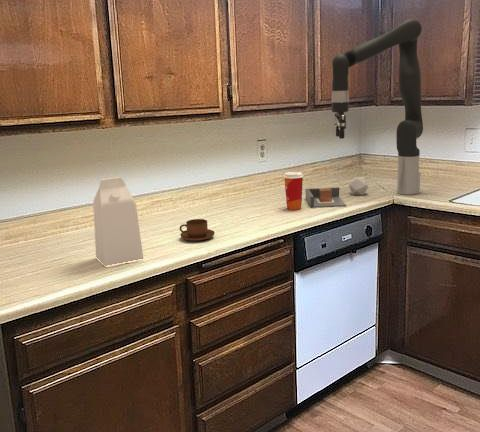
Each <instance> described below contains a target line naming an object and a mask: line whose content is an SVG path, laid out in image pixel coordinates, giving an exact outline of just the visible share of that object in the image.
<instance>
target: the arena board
mask: <svg viewBox="0 0 480 432" xmlns="http://www.w3.org/2000/svg"><path fill="white" fill-rule="evenodd" d="M319 188H320V187H317V188H314V187H313V188H305V190H304V191H305V201H306V202H307V204H308V206H309V208H313V209H316V208H317V207H318V208H336V207H337V208H338V207H341V206H342V207H347V203H346V202H344V201H343V199H342V198H341V197H340V187H329V188H330V189H331V190H332V202H320V201H319ZM342 207H341V208H342Z"/></svg>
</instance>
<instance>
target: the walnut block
mask: <svg viewBox="0 0 480 432" xmlns="http://www.w3.org/2000/svg"><path fill="white" fill-rule="evenodd" d="M318 188H319V201H320V202H332V190H331V189H330V188H331V187H318Z"/></svg>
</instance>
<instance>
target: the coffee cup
mask: <svg viewBox="0 0 480 432" xmlns="http://www.w3.org/2000/svg"><path fill="white" fill-rule="evenodd" d="M283 178H284V189H285V201H286V209H287V210H288V211H300V210H301V209H302V203H303V198H302V197H303V181H304V180H303V179H304V174H303V172H299V171H289V172H288V171H287V172H285V173H284V175H283Z"/></svg>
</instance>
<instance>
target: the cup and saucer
mask: <svg viewBox="0 0 480 432" xmlns="http://www.w3.org/2000/svg"><path fill="white" fill-rule="evenodd" d="M183 227H185V228H186V230H183V229H182V228H183ZM179 231H180V237H181V238H182V239H183V240H186V241H191V242H198V241H199V242H200V241H206V240H208V239H211V238H212V237H214V235H215V231H214V230H213V229H210V228H209V229H208V220H207V219H203V218H197V219H195V218H194V219H189V220H186V223H184V224H181V225H180V226H179Z"/></svg>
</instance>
